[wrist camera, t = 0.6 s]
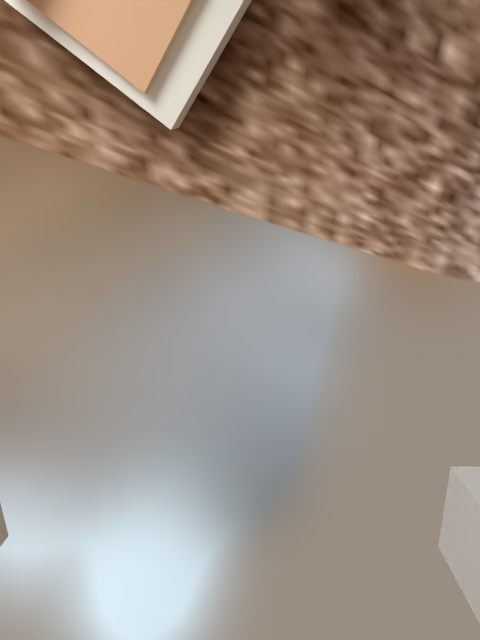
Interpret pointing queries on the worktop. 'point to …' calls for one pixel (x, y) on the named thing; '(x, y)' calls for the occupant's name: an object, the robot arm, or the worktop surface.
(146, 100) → the socket housing
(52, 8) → the shutter
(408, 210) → the worktop surface
